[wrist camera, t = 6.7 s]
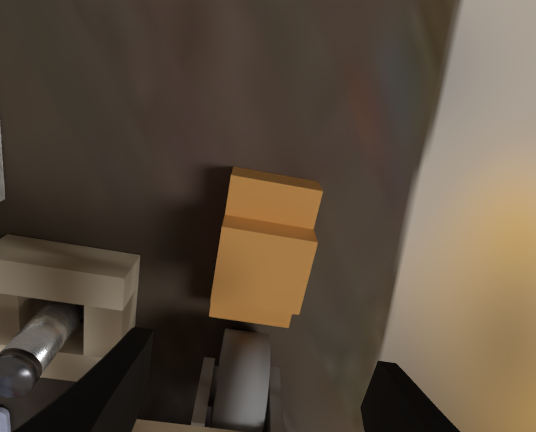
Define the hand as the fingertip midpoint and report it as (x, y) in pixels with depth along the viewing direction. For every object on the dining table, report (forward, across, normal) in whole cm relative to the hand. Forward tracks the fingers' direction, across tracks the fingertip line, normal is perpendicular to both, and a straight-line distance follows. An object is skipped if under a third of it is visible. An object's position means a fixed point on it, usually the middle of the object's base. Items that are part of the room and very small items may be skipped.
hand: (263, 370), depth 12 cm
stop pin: (+9, +10, +5) cm, 15 cm away
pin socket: (+9, +10, +5) cm, 14 cm away
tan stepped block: (+10, 0, 0) cm, 10 cm away
